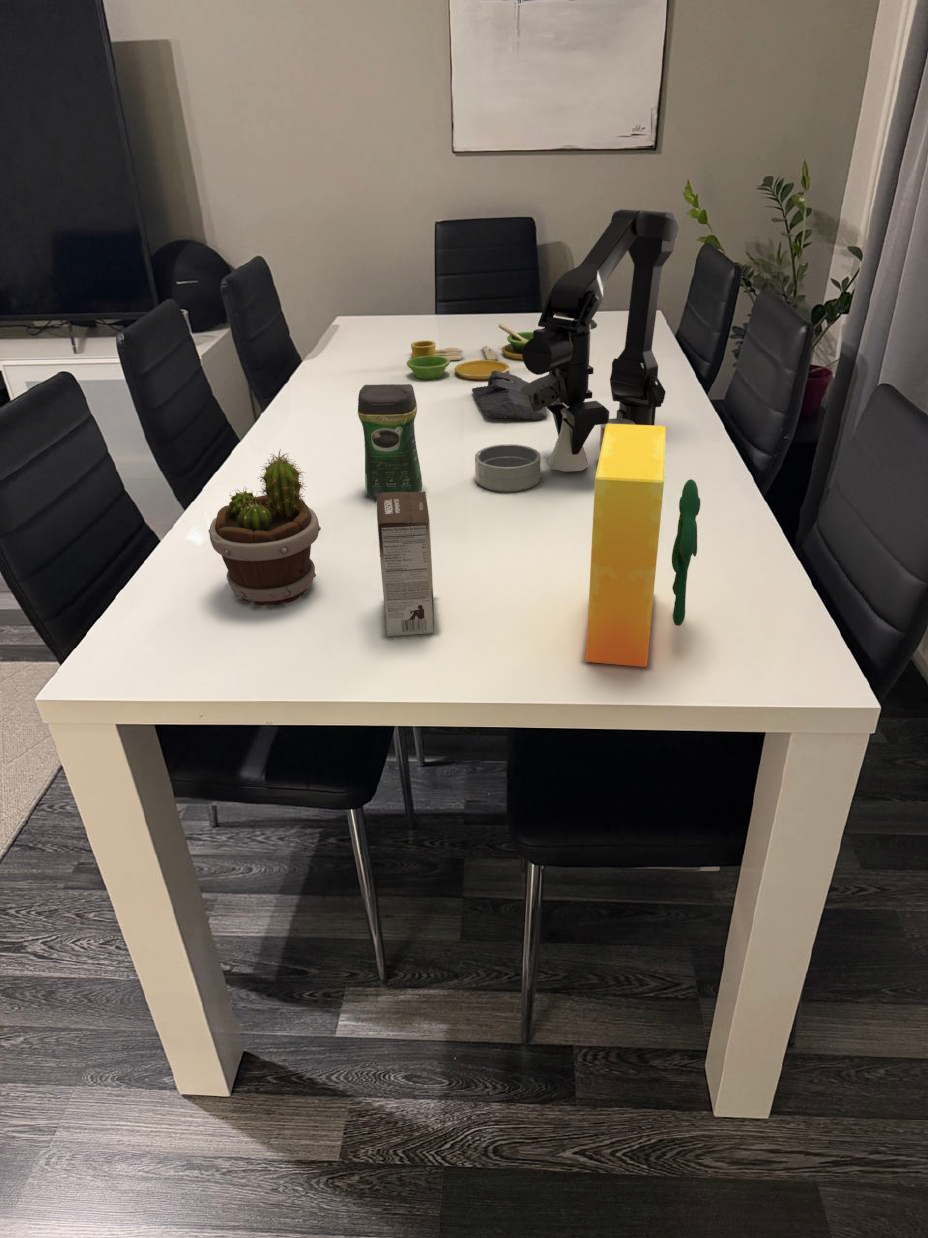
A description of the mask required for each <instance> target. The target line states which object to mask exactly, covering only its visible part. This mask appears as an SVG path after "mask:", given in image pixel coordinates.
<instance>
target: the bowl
mask: <svg viewBox="0 0 928 1238" xmlns="http://www.w3.org/2000/svg"><path fill="white" fill-rule="evenodd" d="M541 459H542V458H541V453H540V451H538V450H537V449H535V448H533V447H531V446H526V445H522V444H510V443H507V444H496V445H491V446H487V447H483V448H481V449H480V450H477V451H476V453H475V454H474V473H475V481H476V483H477V484H478V485H479V486H481V487H483V488H484V489H486V490H490V491H493V492H498V493H499V492H500V493H513V492H514V493H515V492H522V491H526V490H528V489H531V488H533V487H534V486H535V485H537V484H538V483H539V482H540V480H541V462H542V461H541Z"/></svg>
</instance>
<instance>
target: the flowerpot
mask: <svg viewBox="0 0 928 1238" xmlns="http://www.w3.org/2000/svg"><path fill="white" fill-rule="evenodd" d="M281 449H282V448H280V449H279V451H278V455H275V454H272V453H270V455H271V456H270V458H272V459H267V462H266V463H264V465H262V466H261V465H260V466H259V467H261V468H262V469H261V471H264V472H263V473H262V474H261V473H260V474H259V475H260V476H258V477H257V478H256V480H258V479H259V482H260V483H261V491H259V490H258V491H257V492H256V495H254V491H251V492H248V491H247V490H248V489H249V488H248V487H246V486H244V488H243V490H242V491H240V490H239V489H236V490H234V489H233V490H232V489H231V492H232V491H234V492H235V495H232V494H229V497H230V501H229V502H228V505H224V506H222V507H221V508H220V509H219V510H218V512H217V513H216V517H215V518H214V519H213V520H212V521H211V523H210V526H209V529H208V534H209V541H210V543H211V546H212V548H213V550H214V551H215V552H216V553H217V554H219V555H220V556H221V558H222V560H223V563H224V566H225V568H226V569H227V572H226V580H227V582H228V584H229V586H230V589H231V590H232V592H233V594H235V595H236V596H237V597H239V599H240V600H241V601H243V602H245V603H247V602H253V603H254V605H256V606H258V607H264V606H271V607H272V606H280V605H283V604H288V603H291V602H294V601H296V600H298V599H299V598H300V597H301V596H302V597H303V596H304V594H305V593H306V592H307V590H308V588H309V587H310V586H311V585H312V583H313V581H314V578H316V577H317V574H316V566H315V563H314V562H313V560H312V559H311V550H312V545H313V544H314V543H315V542H316V541H317V539H318V537H319V533H320V531H321V529H322V528H321V526H320V522H319V519H318V516H317V514H316V512H315V511H314V510H313V509H312V508H310V507H309V506H308V504H306V502H305V500H304V499H303V498H304V495H303V493H301V492H303V491H305V492H306V489H305V488H307V486H306V485H305V482H302V481H304V475H303V474H306V472H304V471H302V469H300V467H299V466H298V465H297V464H296V460H294V459H293V458H292V459H290V458H288V457H289V452H287V453H283V454H282V455H281ZM285 456H286V457H285ZM292 460H293V461H292ZM266 465H267V466H266ZM299 469H300V470H299ZM299 478H301V479H302V480H300V479H299ZM304 487H305V488H304ZM236 491H237V492H236ZM258 492H259V493H261V495H258ZM257 495H258V496H257Z"/></svg>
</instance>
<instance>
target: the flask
mask: <svg viewBox="0 0 928 1238" xmlns="http://www.w3.org/2000/svg"><path fill="white" fill-rule="evenodd" d="M567 409H568V408H564V409H562V410H561V413H562V415H563V418H567V417H566V411H567ZM557 436H558V435H557ZM556 439H557V440H556V442H555V444H554V447H553V449H552V451H551V454H550V456H549V459H548V462H547V463H548V465H549V467H550V469H552V470H557V471H561V472H581V471H584V470H585V469H586V468H588V467H589V466H590V463H589V460H588V457H587V454H586V450H585V448H584V445H583V446H582V448H581V450H580V452H579V454H576V455H573V454H572V451H571V443H570V433H569V426H568V425H567V424H566V423H565V422H564V421H562V426H561V431H560V434H559V436H558V437H557V438H556Z"/></svg>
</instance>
